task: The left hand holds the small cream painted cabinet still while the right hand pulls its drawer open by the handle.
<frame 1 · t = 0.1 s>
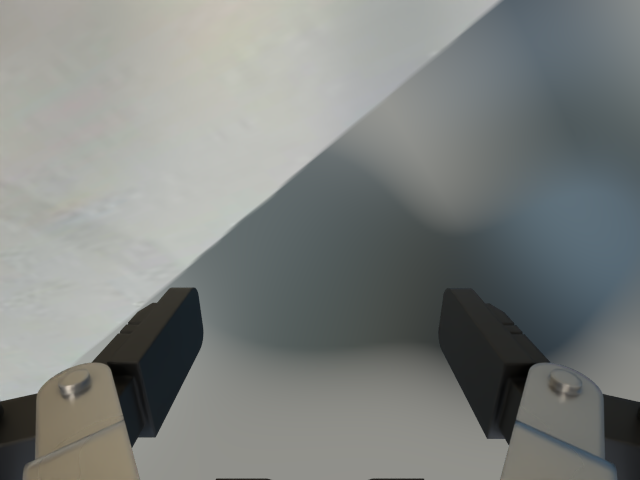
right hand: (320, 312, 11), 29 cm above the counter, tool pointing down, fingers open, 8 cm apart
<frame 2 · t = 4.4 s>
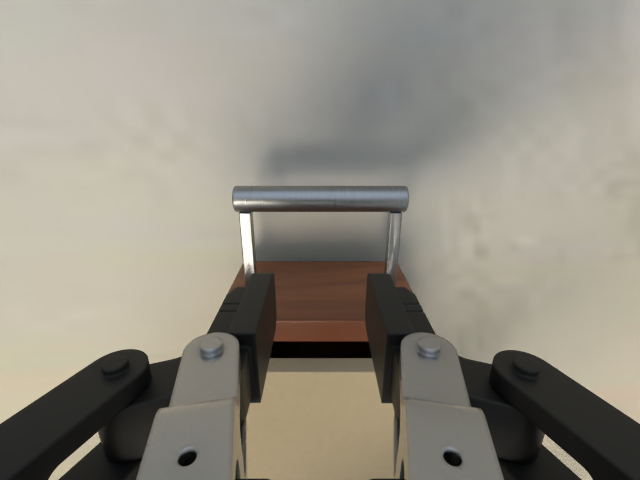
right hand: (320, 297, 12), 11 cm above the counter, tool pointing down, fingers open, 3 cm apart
drawer: (320, 354, 21), point 4 cm above the counter, slide at 0.9 cm
cabinet: (320, 374, 27), on the counter, touching left hand
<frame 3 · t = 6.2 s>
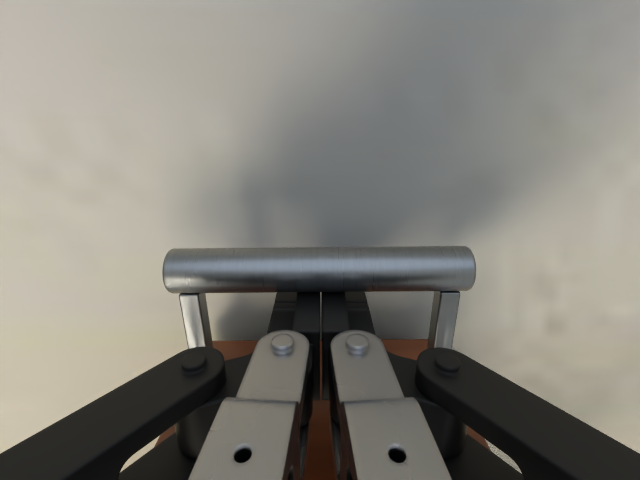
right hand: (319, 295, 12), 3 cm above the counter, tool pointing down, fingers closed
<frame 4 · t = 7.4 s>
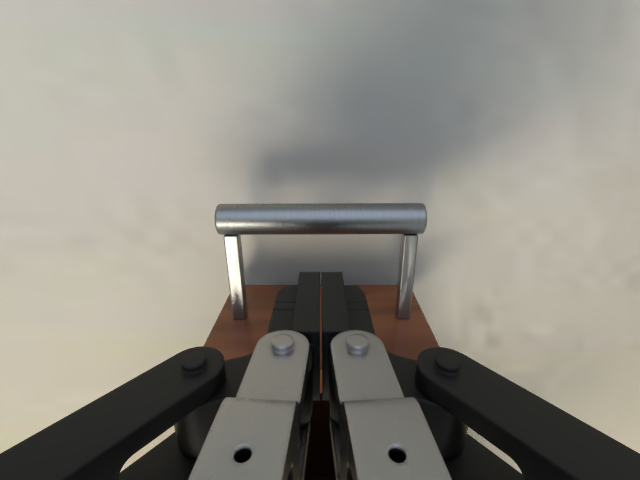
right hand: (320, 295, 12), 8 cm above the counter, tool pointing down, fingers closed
drawer: (321, 393, 18), point 4 cm above the counter, slide at 5.7 cm
when the left hand's fingers open (4 cm above the counter, at t = 8.6 s): cabinet stays where it is, on the counter.
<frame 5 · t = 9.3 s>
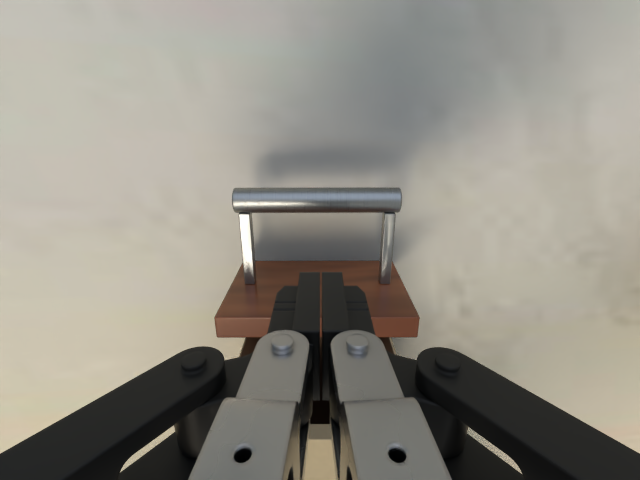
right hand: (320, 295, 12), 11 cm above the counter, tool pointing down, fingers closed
drawer: (317, 350, 21), point 4 cm above the counter, slide at 5.7 cm
cabinet: (318, 416, 29), on the counter
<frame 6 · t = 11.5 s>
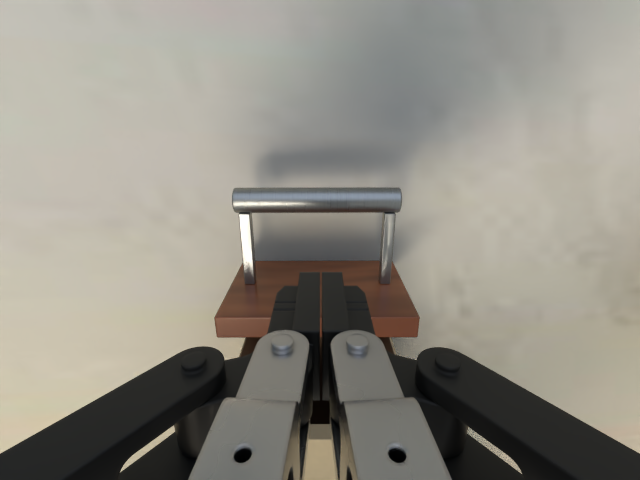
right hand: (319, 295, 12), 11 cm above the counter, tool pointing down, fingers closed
drawer: (317, 350, 21), point 4 cm above the counter, slide at 5.7 cm
cabinet: (318, 416, 29), on the counter
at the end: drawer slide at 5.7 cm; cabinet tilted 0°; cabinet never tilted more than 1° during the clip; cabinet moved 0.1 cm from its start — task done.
